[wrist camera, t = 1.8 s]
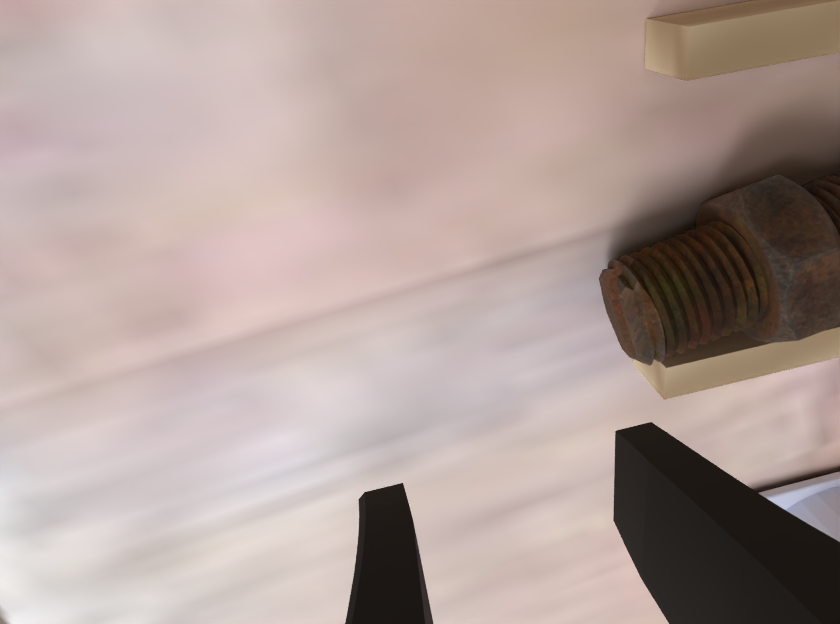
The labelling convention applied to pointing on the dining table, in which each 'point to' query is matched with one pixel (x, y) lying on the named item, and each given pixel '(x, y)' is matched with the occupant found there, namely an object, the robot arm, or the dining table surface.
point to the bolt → (734, 272)
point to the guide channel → (719, 54)
